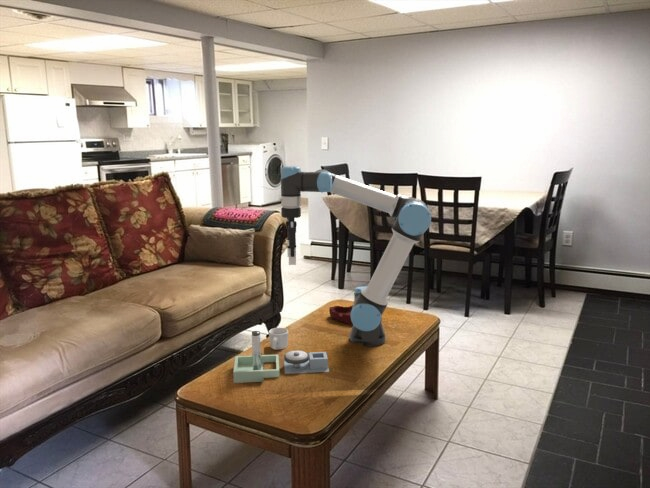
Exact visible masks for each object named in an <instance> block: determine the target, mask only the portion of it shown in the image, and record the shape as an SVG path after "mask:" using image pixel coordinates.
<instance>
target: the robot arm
mask: <svg viewBox="0 0 650 488" xmlns="http://www.w3.org/2000/svg"><path fill="white" fill-rule="evenodd" d="M280 173H281V174H280V191H281V192H280V193H281V195H280V196H281V197H280V198H279V201H280V202H281V203H280V204H281V206H280V207H281V210H280V211H281V212H280V213H281V214H280V215H281V217H282V218H285V219H287V221H285V226H286V227H285V228H286V233H287V234H286V237H287V241H286V242H287V243H286V244H287V245H286V249H287V250H286V251H287V258H288V265H289V266H296V265H297V250H296V249H297V238H296V237H297V236H296V233H297V226H298V225H297V224H298V223H297V221H295V219H298V218H300V217H301V215H302V209H301V206H302V203H301V202H302V197H301V196H302V195H301V193H304V192H307V193H322V194H323V193H327V192H328V193H332V194H335V195H337V196H339V197H342V198H344V199H345V198H346V199H348V200H351V201H354V202H357V203H359V204H362V205H365V206H368V207H371V208H373V209H376V210H378V211H381V212H383V213H388V214H389V216H390V217H392V218H394V219H395V221H394V223H393V224H392V227H391V231H392V236H391V237H390V239H389V241H388V244H387V246H386V248H385V249H384V252H383V255H382V256H381V258H380V260H379V261H378V264H377V266H376V269H375V270H374V272H373V274H372V276H371V279H370V281H369V283H368V284H367V285H366V286H357V287H355V288H354V291H353V292H354V293H353V304H352V305H353V307H352V310H351V314H350V316H351V321H352V323H353V325H352V327H351V330H350V331H349V332H350V333H349V341H350V342H351V343H352V344H362V346H363V347H375V346H376V347H377V346H380V345H382V344H384V343H385V342H386V333H385V329H384V326H383V323H382V319H383V314H384V313H385V311H386V308H387V307H388V305H389V302H388V301H389V300H388V296H389V294H390V292H391V290H392V288H393V286H394V283H395V282H396V280H397V278H398V276H399V274H400V272H401V270H402V268H403V267H404V264H405V262H406V261H407V259H408V256H409V254H410V253H411V251H412V249H413V247H414V245H415V244H417V243H420V241H421V239H422V238H423V235H424V233H426V231H427V230H428V229H429V227H430V226H431V223H432V214H431V211H430V209H429V207H428V205H427V204H426V203H425V202H424V201H423V200H422V199H419V198H415V197H411V196H407V195H403V194H400V193H398V194H392V193H391V192H387V191H385V190H384V191H383V190H382V189H381V190H380V189H378V188H375V187H373V186H371V185H366V184H364V183H361V182H358V181H355V180H352V179H350V178H347V177H344V176H341V175H338V174H335V173H332V172H330V171H328V170H327V169H323V168H322V169H321V168H320V169H318V170H316V171H308V172H307V171H301V167H300V166H294V165H293V166H292V165H290V166H289V165H288V166H282V168H281V169H280Z"/></svg>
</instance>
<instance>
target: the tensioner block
mask: <svg viewBox="0 0 650 488" xmlns="http://www.w3.org/2000/svg"><path fill="white" fill-rule="evenodd" d="M283 360H284V361H283V368H284V374H285V375H286V374H287V375H288V374H309V373H329V372H330V368H329V365H328V364H329V359H328V355H327V351H316V352H315V351H314V352H313V351H312V352H305V351H304V350H291V351H288V352H286V353H284V357H283Z"/></svg>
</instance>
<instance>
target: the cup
mask: <svg viewBox="0 0 650 488" xmlns="http://www.w3.org/2000/svg"><path fill="white" fill-rule="evenodd" d="M268 337H269V339H268V340H269V344H270V345H269V346H270V348H271V349H273V350H284V349H286V348H287V347H288V345H289V344H288V341H289V330H288V329H287V328H285V327H274V328H271V329H270V330H268Z"/></svg>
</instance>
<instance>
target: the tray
mask: <svg viewBox="0 0 650 488" xmlns="http://www.w3.org/2000/svg"><path fill="white" fill-rule="evenodd" d="M279 357H280V356H279V354H261V370H253V360H252V355H235V357H234V364H233V371H232V373H233V376H232V377H233V384H240V383H244V384H245V383H258V382H259V383H261V382H264V380H265V378H266V379H267V378H280V358H279ZM265 363H275V368H274V369H273V368H272V369H265Z"/></svg>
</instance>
